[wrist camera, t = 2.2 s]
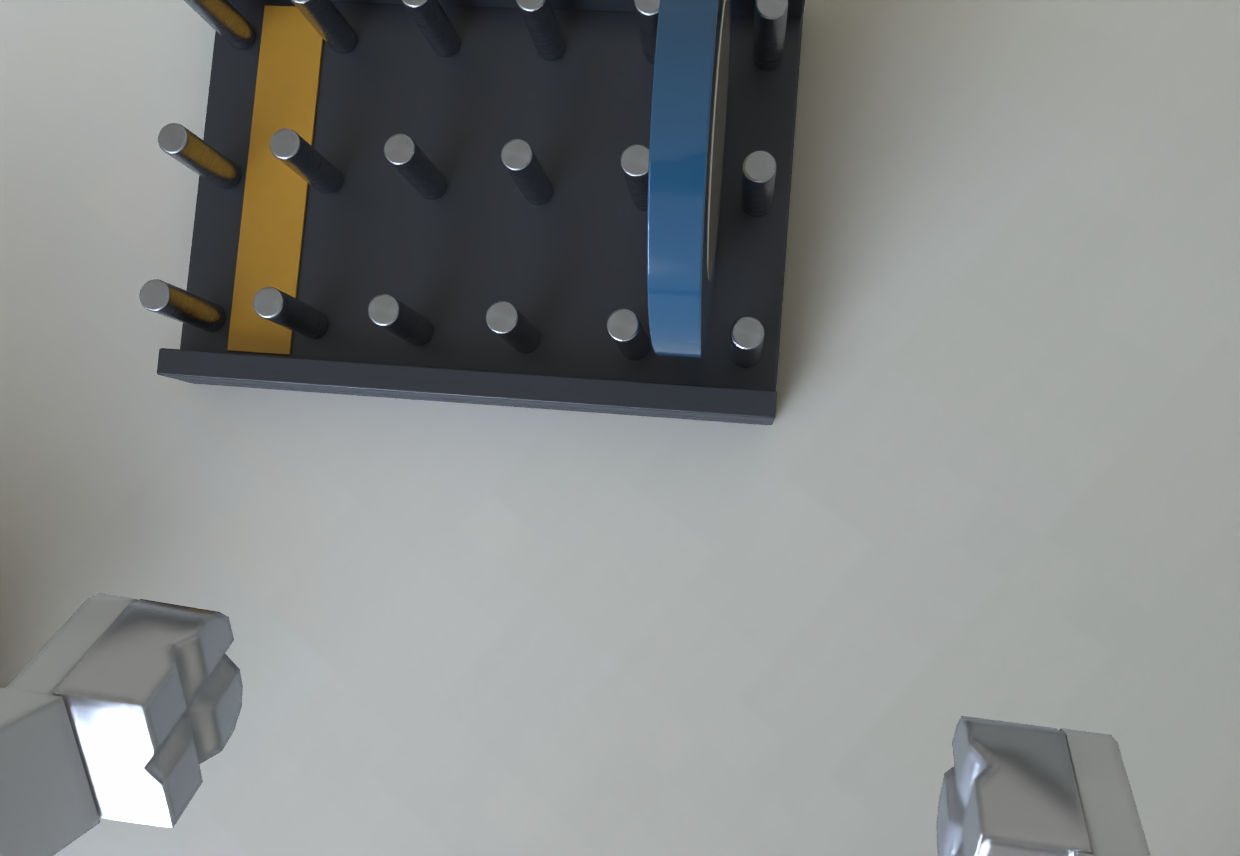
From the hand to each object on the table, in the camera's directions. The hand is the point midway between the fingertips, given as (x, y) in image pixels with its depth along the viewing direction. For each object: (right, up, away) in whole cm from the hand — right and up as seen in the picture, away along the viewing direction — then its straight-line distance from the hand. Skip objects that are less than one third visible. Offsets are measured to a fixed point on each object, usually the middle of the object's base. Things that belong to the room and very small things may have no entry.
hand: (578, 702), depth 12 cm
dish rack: (-4, +10, +23) cm, 25 cm away
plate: (+3, +10, +21) cm, 24 cm away
